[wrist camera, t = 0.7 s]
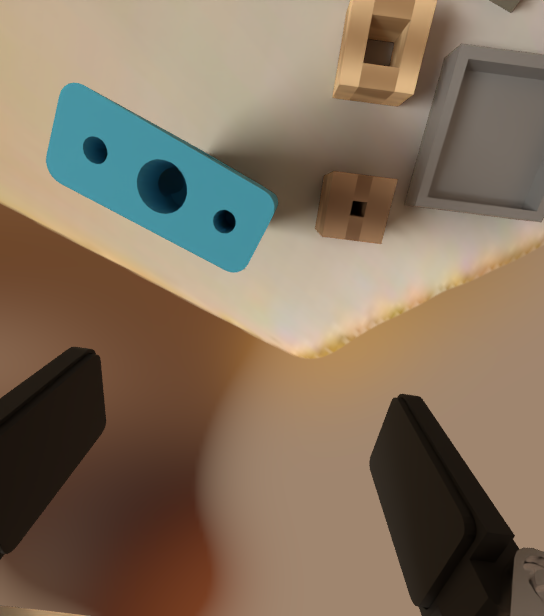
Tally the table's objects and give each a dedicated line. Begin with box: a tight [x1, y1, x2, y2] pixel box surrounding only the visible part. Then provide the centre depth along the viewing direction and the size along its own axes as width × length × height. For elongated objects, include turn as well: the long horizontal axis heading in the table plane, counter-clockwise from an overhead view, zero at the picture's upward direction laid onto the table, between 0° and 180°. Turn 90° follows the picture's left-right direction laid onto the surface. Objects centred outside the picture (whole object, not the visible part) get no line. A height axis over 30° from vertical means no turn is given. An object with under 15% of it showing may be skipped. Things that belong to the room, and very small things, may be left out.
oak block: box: [332, 0, 437, 106], centre depth 27 cm, size 7×7×4 cm
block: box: [46, 83, 278, 272], centre depth 25 cm, size 12×5×20 cm, turn 61°
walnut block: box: [315, 171, 398, 244], centre depth 31 cm, size 6×6×7 cm
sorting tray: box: [405, 44, 544, 222], centre depth 30 cm, size 14×14×3 cm
